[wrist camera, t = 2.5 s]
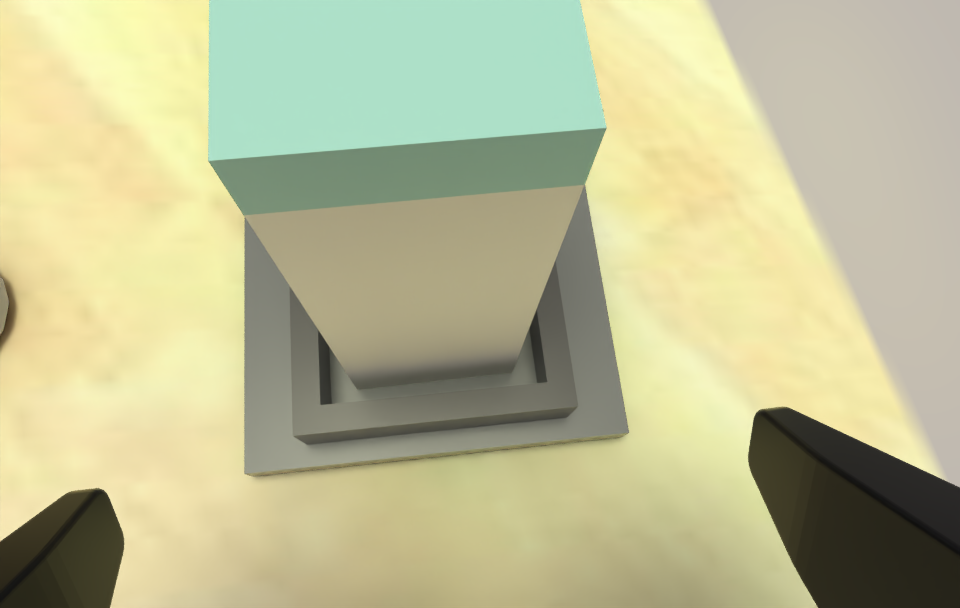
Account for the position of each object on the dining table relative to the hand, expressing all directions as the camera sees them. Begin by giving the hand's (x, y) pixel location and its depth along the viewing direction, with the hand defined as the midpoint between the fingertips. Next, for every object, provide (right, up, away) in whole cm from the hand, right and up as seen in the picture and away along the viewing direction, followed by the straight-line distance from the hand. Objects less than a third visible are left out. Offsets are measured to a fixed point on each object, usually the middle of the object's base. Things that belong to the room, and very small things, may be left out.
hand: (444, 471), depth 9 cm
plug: (-1, +2, +13) cm, 13 cm away
